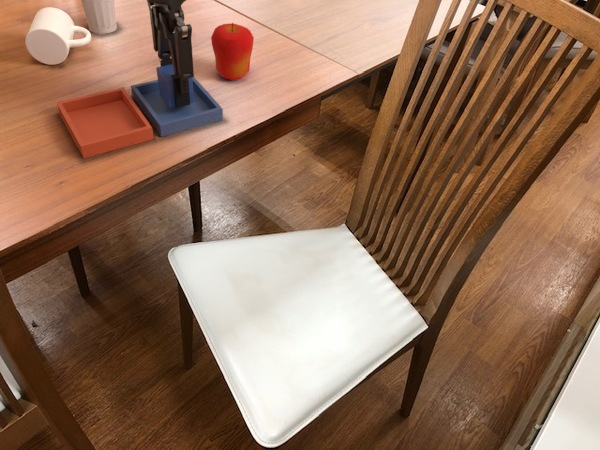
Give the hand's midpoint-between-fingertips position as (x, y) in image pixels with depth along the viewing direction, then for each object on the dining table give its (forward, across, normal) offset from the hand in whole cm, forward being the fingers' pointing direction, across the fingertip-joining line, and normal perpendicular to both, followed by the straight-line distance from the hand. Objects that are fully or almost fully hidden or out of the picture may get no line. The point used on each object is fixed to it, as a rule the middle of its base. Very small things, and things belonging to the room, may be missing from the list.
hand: (176, 97), depth 98 cm
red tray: (+2, 0, +14) cm, 14 cm away
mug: (+3, +29, +13) cm, 32 cm away
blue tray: (+2, 0, 0) cm, 2 cm away
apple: (+3, +7, -16) cm, 18 cm away
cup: (+3, +38, +2) cm, 38 cm away
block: (0, 0, 0) cm, 0 cm away
